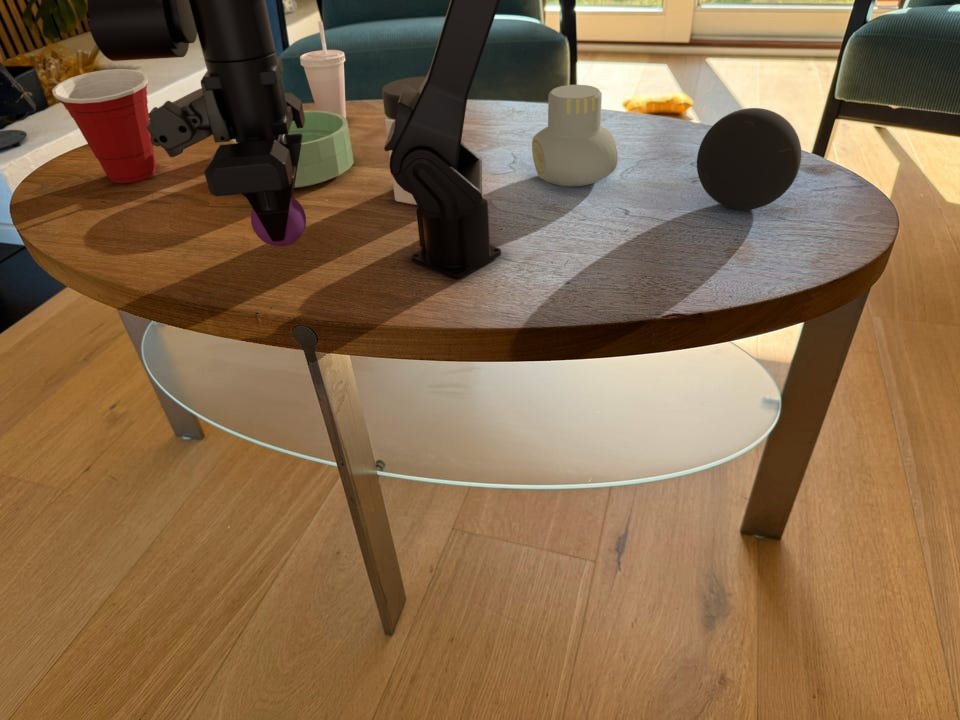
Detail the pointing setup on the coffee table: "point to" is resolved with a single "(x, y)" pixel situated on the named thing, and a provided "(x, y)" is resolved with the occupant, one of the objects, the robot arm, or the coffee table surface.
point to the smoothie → (326, 77)
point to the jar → (390, 101)
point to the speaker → (749, 158)
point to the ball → (293, 229)
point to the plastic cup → (112, 120)
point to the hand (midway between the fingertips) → (281, 228)
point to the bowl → (322, 147)
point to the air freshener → (574, 139)
